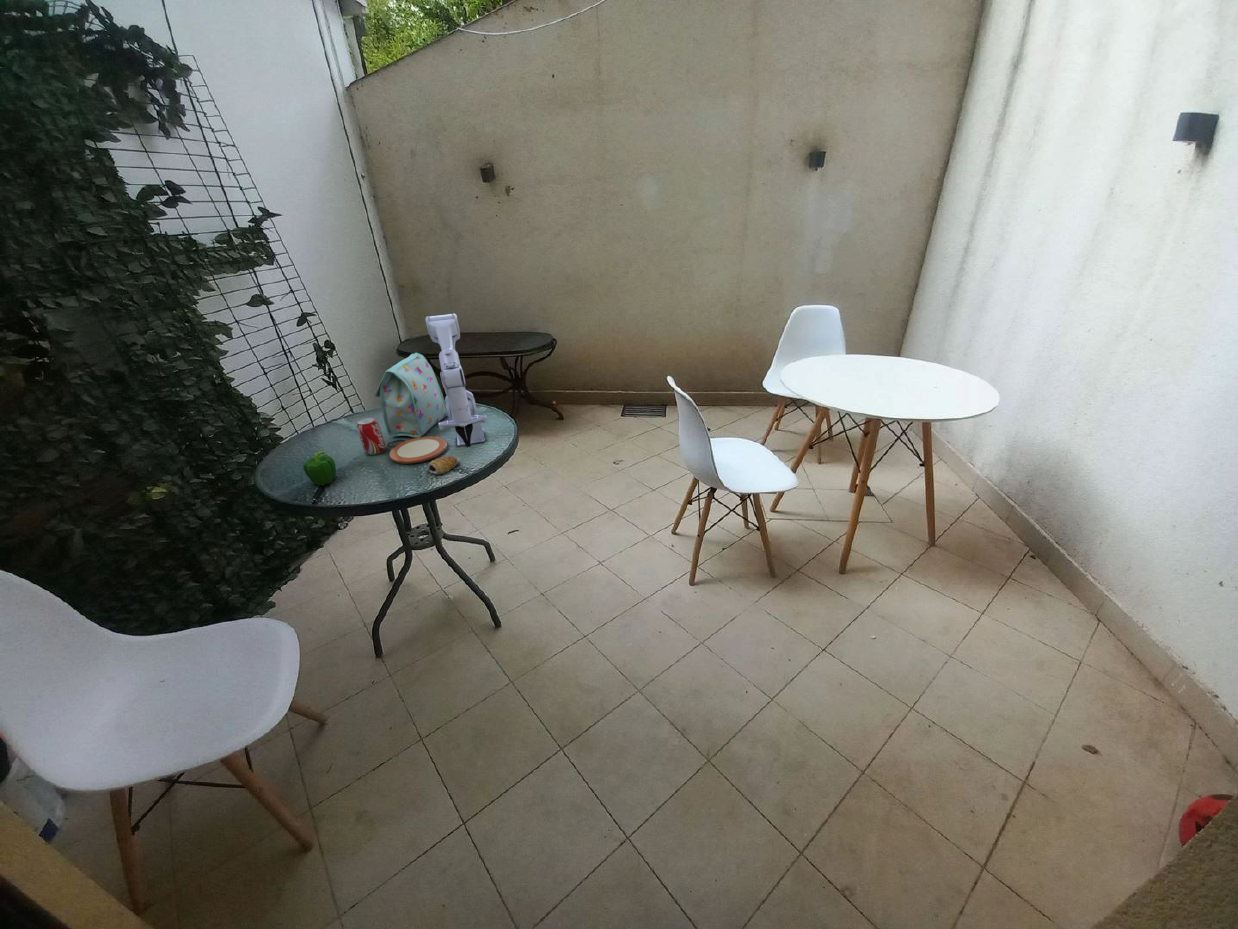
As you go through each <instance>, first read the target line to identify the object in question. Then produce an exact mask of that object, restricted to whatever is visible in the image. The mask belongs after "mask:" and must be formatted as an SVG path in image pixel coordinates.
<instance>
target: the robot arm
mask: <svg viewBox="0 0 1238 929" xmlns="http://www.w3.org/2000/svg"><path fill="white" fill-rule="evenodd" d="M425 324H426V328H427V332H428V335H429V338H430V339H431V341H432V343H436V344H438V345H439V346H440V350H441V351H440V352H439V354H438V358H439V365H440V370H441V371H440V374H439V375H440V379H441V384H442V388H443V389H444V392H445V395H446V396H445V398H444V401H445V405H446V409H447V413H448V415H447V417H448V418H449V419H447V420H444V421H439V422H438V429H439V431H444V430H446V429H451V428H455V432H456V435H457V436H456V437H457V438H456V441H457V442H456V443H457V446H458V447H460V446H465V447H466V448H471V447H472V444H477V443H478V444H479V443H483V442H485V440H486V438H485V434H486V433H485V429H484V428H483V423H484V424H487V423H488V418H487V415H486V414H481V415H480V414H478V409H477V405H476V399H475V397H474V394H473V393H472V392H471V391H469V390H467V389H466V378H465V374H464V369H463V368H462V365H461V361H460V357H459V353H458V351H456V342H457V341H458V340H460V339H461V330H460V326H459V321H458V315H457V314H456V313H449V314H440V315H431V316H426V317H425Z"/></svg>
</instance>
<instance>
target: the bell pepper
mask: <svg viewBox="0 0 1238 929" xmlns="http://www.w3.org/2000/svg"><path fill="white" fill-rule="evenodd" d="M302 464H303V465H302V468H303V471H304V473H305V475H306V476H307V477H308V478H309V480H310V481H311V482H312V483H314V484H316V485H318V486H325V485H328V484H331V482H333V480H335V479H336V477H337V468H336V462H335V460H334V459H333V458H332V457H331V456H330V455H328V454H325V451H324V450H321V451H318V452H316V454H315V455H314V456H311V457H309V458H308V460H306V461H304V462H303V463H302Z"/></svg>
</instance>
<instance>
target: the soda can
mask: <svg viewBox="0 0 1238 929" xmlns="http://www.w3.org/2000/svg"><path fill="white" fill-rule="evenodd" d="M356 424H357V425H356V430H357V434H358V436H359V437H358V438H359V439H360V443H361V445H362V448H363V450H364V452H365V454H367V455H371V456H375V455H378V454H381V453H383V452H384V451H385V450H386V448H387V446H386V442H385V439H384V436H383V432H382V429H381V426H380V424H379V422H378V421H377V420H376V418H375V417H371V416H370V417H369V416H368V417H363V418H360V419H359V420H357V421H356Z"/></svg>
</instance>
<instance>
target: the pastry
mask: <svg viewBox="0 0 1238 929" xmlns="http://www.w3.org/2000/svg"><path fill="white" fill-rule="evenodd" d="M458 461H459V460H458V458H456V457H455V456H443V457H437V458H435V459H433V460H431V461H430V462H428V464H427V467H426V468H427V469H426V470H427V471H428V472H429V473H430V474H434V475H443V474H445V473H446V472H450V471H451V470H453V469H454V468H455V467H456V466H457V465H458V463H459V462H458Z"/></svg>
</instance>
